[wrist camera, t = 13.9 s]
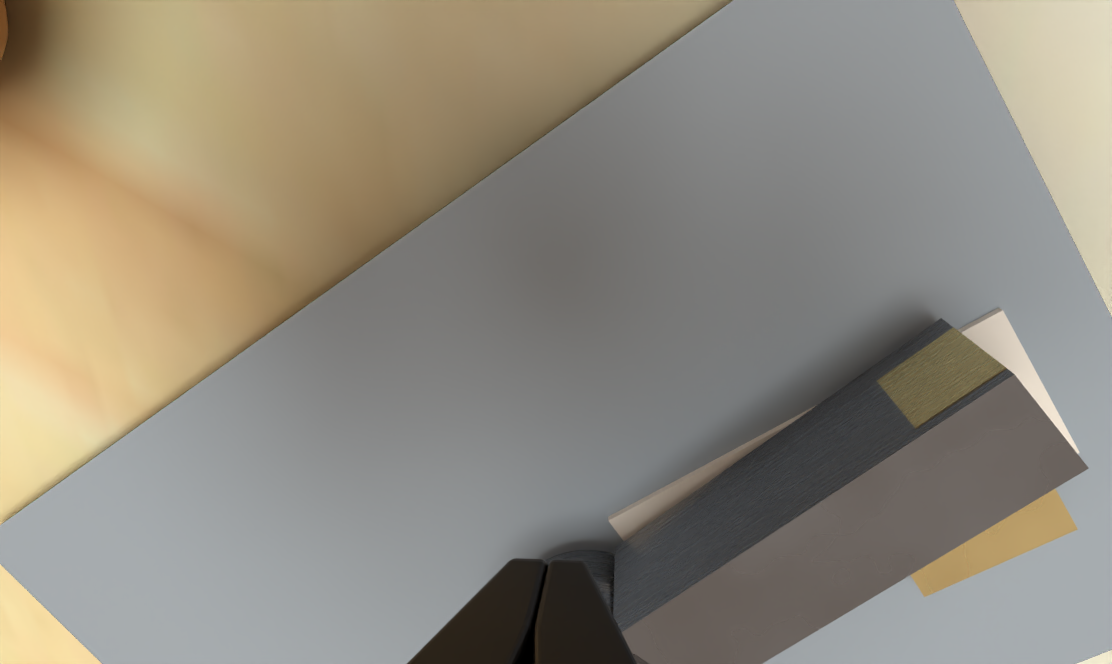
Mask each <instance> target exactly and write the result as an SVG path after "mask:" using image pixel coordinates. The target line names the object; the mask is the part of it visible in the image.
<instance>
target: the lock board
mask: <svg viewBox="0 0 1112 664" xmlns="http://www.w3.org/2000/svg"><path fill="white" fill-rule="evenodd" d="M940 318H942V319H943V320H945V321H946V322H947V323H948V324H950V325H951V326H952V327H954V328H955V329H957V330H958V331H959V332H961V333H962V334H963V335H964V336H966V337H967V338H968V339H970V340H971V341H972V342H974V343H975V344H976V345H977V346H979V347H980V348H981V349H983V350H984V351H985V352H987V353H988V354H989V355H990V356H992V357H993V358H994V359H996V360H997V361H998V362H1000V363H1001V364H1002V365H1003V366H1005V367H1006V368H1007V369H1008V370H1010V371H1011V372H1012V373H1014V374H1015V375H1016V377H1017V378H1018V379H1019V381H1020V382H1021V383H1022V384H1023V386H1024V387H1025V388H1026V389H1027V391H1028V392H1029V393H1030V394H1031V396H1032V397H1033V398H1034V399H1035V401H1036V402H1037V403H1038V405H1039V406H1040V407H1041V408H1042V410H1043V411H1044V412H1045V413H1046V415H1047V416H1048V417H1049V418H1050V420H1051V421H1052V422H1053V423H1054V425H1055V426H1056V427H1057V428H1058V430H1059V431H1060V432H1061V434H1062V435H1063V436H1064V437H1065V439H1066V440H1067V441H1068V442H1069V444H1070V445H1071V446H1072V447H1073V449H1074V450H1075V451H1076V452H1077V454H1078V455H1079V456H1080V458H1081V459H1082V460H1083V461H1084V463H1085V464H1086V465H1087V466H1088V468H1089V469H1087V470H1085V471H1084V472H1082V473H1080V474H1079V475H1077V476H1075V477H1074V478H1072V479H1070V480H1069V481H1067V482H1065V483H1064V484H1062V485H1060V486H1059V487H1057V488H1055V489H1056V491H1057V492H1058V494H1059V496H1060V498H1061V500H1062V501H1063V503H1064V505H1065V507H1066V509H1067V510H1068V512H1069V514H1070V516H1071V518H1072V519H1073V521H1074V523H1075V525H1076V527H1077V528H1078V530H1076V531H1073V532H1071V533H1069V534H1066V535H1064V536H1062V537H1060V538H1057V539H1055V540H1053V541H1051V542H1048V543H1046V544H1044V545H1042V546H1039V547H1037V548H1035V549H1033V550H1030V551H1028V552H1026V553H1023V554H1021V555H1019V556H1017V557H1014V558H1012V559H1010V560H1008V561H1005V562H1003V563H1001V564H999V565H996V566H994V567H992V568H990V569H987V570H985V571H983V572H980V573H978V574H976V575H974V576H971V577H969V578H967V579H965V580H962V581H960V582H958V583H956V584H953V585H951V586H949V587H947V588H944V589H942V590H940V591H937V592H935V593H933V594H931V595H928V596H926V597H924V596H923V594H922V593H921V591H920V589H919V588H918V586H917V585H916V583H915V582H914V580H913V579H912V577H911V575H910V576H908V577H906V578H905V579H903V580H901V581H900V582H898V583H896V584H895V585H893V586H891V587H890V588H888V589H886V590H885V591H883V592H881V593H880V594H878V595H876V596H875V597H873V598H871V599H870V600H868V601H866V602H865V603H863V604H861V605H860V606H858V607H856V608H855V609H853V610H851V611H850V612H848V613H846V614H845V615H843V616H841V617H840V618H838V619H836V620H834V621H833V622H831V623H829V624H828V625H826V626H824V627H823V628H821V629H819V630H818V631H816V632H814V633H813V634H811V635H809V636H808V637H806V638H804V639H803V640H801V641H799V642H798V643H796V644H794V645H793V646H791V647H789V648H788V649H786V650H784V651H783V652H781V653H779V654H778V655H776V656H774V657H773V658H771V659H769V660H768V661H766V662H764V663H763V664H1077V663H1079V662H1082V661H1084V660H1087V659H1089V658H1092V657H1094V656H1097V655H1100V654H1102V653H1105V652H1107V651H1110V650H1112V317H1111V315H1110V313H1109V311H1108V309H1107V307H1106V305H1105V303H1104V301H1103V299H1102V297H1101V295H1100V293H1099V291H1098V289H1097V287H1096V285H1095V283H1094V281H1093V279H1092V277H1091V275H1090V273H1089V271H1088V269H1087V267H1086V265H1085V263H1084V261H1083V259H1082V257H1081V255H1080V253H1079V251H1078V249H1077V247H1076V245H1075V243H1074V241H1073V239H1072V237H1071V235H1070V233H1069V231H1068V229H1067V227H1066V225H1065V223H1064V221H1063V219H1062V217H1061V215H1060V213H1059V211H1058V209H1057V207H1056V205H1055V203H1054V201H1053V199H1052V197H1051V195H1050V193H1049V191H1048V189H1047V187H1046V185H1045V183H1044V181H1043V179H1042V177H1041V175H1040V173H1039V171H1038V169H1037V167H1036V165H1035V163H1034V161H1033V159H1032V157H1031V155H1030V153H1029V151H1028V149H1027V147H1026V145H1025V143H1024V141H1023V139H1022V137H1021V135H1020V133H1019V131H1018V129H1017V127H1016V124H1015V122H1014V120H1013V118H1012V116H1011V114H1010V112H1009V110H1008V108H1007V106H1006V104H1005V102H1004V100H1003V98H1002V96H1001V94H1000V92H999V90H998V88H997V86H996V84H995V82H994V80H993V78H992V76H991V74H990V72H989V70H988V68H987V66H986V64H985V62H984V60H983V58H982V56H981V54H980V52H979V50H978V48H977V46H976V44H975V42H974V40H973V38H972V36H971V34H970V32H969V30H968V28H967V26H966V24H965V22H964V20H963V18H962V16H961V14H960V12H959V10H958V8H957V6H956V4H955V2H954V0H733V1H732V2H730V3H729V4H727V5H726V6H725V7H723V8H722V9H720V10H719V11H718V12H716V13H715V14H713V15H712V16H711V17H709V18H708V19H706V20H705V21H704V22H702V23H701V24H699V25H698V26H697V27H695V28H694V29H692V30H691V31H690V32H688V33H687V34H685V35H684V36H683V37H681V38H680V39H679V40H677V41H676V42H674V43H673V44H672V45H670V46H669V47H667V48H666V49H665V50H663V51H662V52H660V53H659V54H658V55H656V56H655V57H653V58H652V59H651V60H649V61H648V62H646V63H645V64H644V65H642V66H641V67H639V68H638V69H637V70H635V71H634V72H632V73H631V74H630V75H628V76H627V77H625V78H624V79H623V80H621V81H620V82H618V83H617V84H616V85H614V86H613V87H611V88H610V89H609V90H607V91H606V92H604V93H603V94H602V95H600V96H599V97H597V98H596V99H595V100H593V101H592V102H591V103H589V104H588V105H586V106H585V107H584V108H582V109H581V110H579V111H578V112H577V113H575V114H574V115H572V116H571V117H570V118H568V119H567V120H565V121H564V122H563V123H561V124H560V125H558V126H557V127H556V128H554V129H553V130H551V131H550V132H549V133H547V134H546V135H544V136H543V137H542V138H540V139H539V140H537V141H536V142H535V143H533V144H532V145H530V146H529V147H528V148H526V149H525V150H523V151H522V152H521V153H519V154H518V155H516V156H515V157H514V158H512V159H511V160H509V161H508V162H507V163H505V164H504V165H503V166H501V167H500V168H498V169H497V170H496V171H494V172H493V173H491V174H490V175H489V176H487V177H486V178H484V179H483V180H482V181H480V182H479V183H477V184H476V185H475V186H473V187H472V188H470V189H469V190H468V191H466V192H465V193H463V194H462V195H461V196H459V197H458V198H456V199H455V200H454V201H452V202H451V203H449V204H448V205H447V206H445V207H444V208H442V209H441V210H440V211H438V212H437V213H435V214H434V215H433V216H431V217H430V218H428V219H427V220H426V221H424V222H423V223H421V224H420V225H419V226H417V227H416V228H415V229H413V230H412V231H410V232H409V233H408V234H406V235H405V236H403V237H402V238H401V239H399V240H398V241H396V242H395V243H394V244H392V245H391V246H389V247H388V248H387V249H385V250H384V251H382V252H381V253H380V254H378V255H377V256H375V257H374V258H373V259H371V260H370V261H368V262H367V263H366V264H364V265H363V266H361V267H360V268H359V269H357V270H356V271H354V272H353V273H352V274H350V275H349V276H347V277H346V278H345V279H343V280H342V281H340V282H339V283H338V284H336V285H335V286H333V287H332V288H331V289H329V290H328V291H327V292H325V293H324V294H322V295H321V296H320V297H318V298H317V299H315V300H314V301H313V302H311V303H310V304H308V305H307V306H306V307H304V308H303V309H301V310H300V311H299V312H297V313H296V314H294V315H293V316H292V317H290V318H289V319H287V320H286V321H285V322H283V323H282V324H280V325H279V326H278V327H276V328H275V329H273V330H272V331H271V332H269V333H268V334H266V335H265V336H264V337H262V338H261V339H259V340H258V341H257V342H255V343H254V344H252V345H251V346H250V347H248V348H247V349H245V350H244V351H243V352H241V353H240V354H239V355H237V356H236V357H234V358H233V359H232V360H230V361H229V362H227V363H226V364H225V365H223V366H222V367H220V368H219V369H218V370H216V371H215V372H213V373H212V374H211V375H209V376H208V377H206V378H205V379H204V380H202V381H201V382H199V383H198V384H197V385H195V386H194V387H192V388H191V389H190V390H188V391H187V392H185V393H184V394H183V395H181V396H180V397H178V398H177V399H176V400H174V401H173V402H171V403H170V404H169V405H167V406H166V407H164V408H163V409H162V410H160V411H159V412H157V413H156V414H155V415H153V416H152V417H151V418H149V419H148V420H146V421H145V422H144V423H142V424H141V425H139V426H138V427H137V428H135V429H134V430H132V431H131V432H130V433H128V434H127V435H125V436H124V437H123V438H121V439H120V440H118V441H117V442H116V443H114V444H113V445H111V446H110V447H109V448H107V449H106V450H104V451H103V452H102V453H100V454H99V455H97V456H96V457H95V458H93V459H92V460H90V461H89V462H88V463H86V464H85V465H83V466H82V467H81V468H79V469H78V470H76V471H75V472H74V473H72V474H71V475H69V476H68V477H67V478H65V479H64V480H63V481H61V482H60V483H58V484H57V485H56V486H54V487H53V488H51V489H50V490H49V491H47V492H46V493H44V494H43V495H42V496H40V497H39V498H37V499H36V500H35V501H33V502H32V503H30V504H29V505H28V506H26V507H25V508H23V509H22V510H21V511H19V512H18V513H16V514H15V515H14V516H12V517H11V518H9V519H8V520H7V521H5V522H4V523H2V524H1V525H0V564H1V565H2V566H3V567H4V568H5V569H6V570H7V571H8V572H9V573H10V574H11V575H12V576H13V577H14V578H15V579H16V580H17V581H18V582H19V583H20V584H21V585H22V586H23V587H24V588H25V589H26V590H27V591H28V592H29V593H30V594H31V595H32V596H33V597H34V598H35V599H36V600H37V601H38V602H39V603H41V604H42V605H43V606H44V607H45V608H46V609H47V610H48V611H49V612H50V613H51V614H52V615H53V616H54V617H55V618H56V619H57V620H58V621H59V622H60V623H61V624H62V625H63V626H64V627H65V628H66V629H67V630H68V631H69V632H70V633H71V634H72V635H73V636H74V637H75V638H76V639H77V640H78V641H79V642H80V643H81V644H82V645H83V646H84V647H86V648H87V649H88V650H89V651H90V652H91V653H92V654H93V655H94V656H95V657H96V658H97V659H98V660H99V661H100V662H101V663H102V664H407V663H408V662H409V661H410V660H411V659H412V658H413V657H414V656H415V655H416V654H417V653H418V652H419V651H420V650H421V649H422V648H423V647H424V646H425V645H426V644H427V643H428V642H429V641H430V640H431V639H432V638H433V637H434V636H435V635H436V634H437V633H438V632H439V631H440V630H441V629H442V628H443V627H444V626H445V625H446V624H447V623H448V622H449V621H450V620H451V619H452V618H453V617H454V616H455V615H456V614H457V613H458V612H459V611H460V609H461V608H462V607H463V606H464V605H465V604H466V603H467V602H468V601H469V600H470V599H471V598H472V597H473V596H474V595H475V594H476V593H477V592H478V591H479V590H480V589H481V588H482V587H483V586H484V585H485V584H486V583H487V582H488V581H489V580H490V579H491V578H492V577H493V576H494V575H495V574H496V573H497V572H498V571H499V570H500V569H501V568H502V567H503V566H504V565H505V564H506V563H507V562H508V561H510V560H511V559H513V558H530V559H544V560H547V559H549V558H551V557H554V556H556V555H559V554H562V553H565V552H570V551H575V550H599V551H606V552H610V553H614V554H615V547H617V546H618V545H619V544H621V543H622V542H624V541H625V540H626V539H628V538H629V537H631V536H632V535H634V534H635V533H636V532H638V531H639V530H641V529H642V528H643V527H645V526H646V525H648V524H649V523H651V522H652V521H653V520H655V519H656V518H658V517H659V516H661V515H662V514H663V513H665V512H666V511H668V510H669V509H670V508H672V507H673V506H675V505H676V504H678V503H679V502H680V501H682V500H683V499H685V498H686V497H688V496H689V495H690V494H692V493H693V492H695V491H696V490H697V489H699V488H700V487H702V486H703V485H705V484H706V483H707V482H709V481H710V480H712V479H713V478H715V477H716V476H717V475H719V474H720V473H722V472H723V471H724V470H726V469H727V468H729V467H730V466H732V465H733V464H734V463H736V462H737V461H739V460H740V459H741V458H743V457H744V456H746V455H747V454H749V453H750V452H751V451H753V450H754V449H756V448H757V447H759V446H760V445H761V444H763V443H764V442H766V441H767V440H768V439H770V438H771V437H773V436H774V435H776V434H777V433H778V432H780V431H781V430H783V429H784V428H786V427H787V426H788V425H790V424H791V423H793V422H794V421H795V420H797V419H798V418H800V417H801V416H803V415H804V414H805V413H807V412H808V411H810V410H811V409H813V408H814V407H815V406H817V405H818V404H820V403H821V402H822V401H824V400H825V399H827V398H828V397H830V396H831V395H832V394H834V393H835V392H837V391H838V390H839V389H841V388H842V387H844V386H845V385H847V384H848V383H849V382H851V381H852V380H854V379H855V378H857V377H858V376H859V375H861V374H862V373H864V372H865V371H866V370H868V369H869V368H871V367H872V366H874V365H875V364H876V363H878V362H879V361H881V360H882V359H884V358H885V357H886V356H888V355H889V354H891V353H892V352H893V351H895V350H896V349H898V348H899V347H901V346H902V345H903V344H905V343H906V342H908V341H909V340H911V339H912V338H913V337H915V336H916V335H918V334H919V333H920V332H922V331H923V330H925V329H926V328H928V327H929V326H930V325H932V324H933V323H935V322H936V321H937V320H939V319H940Z"/></svg>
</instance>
